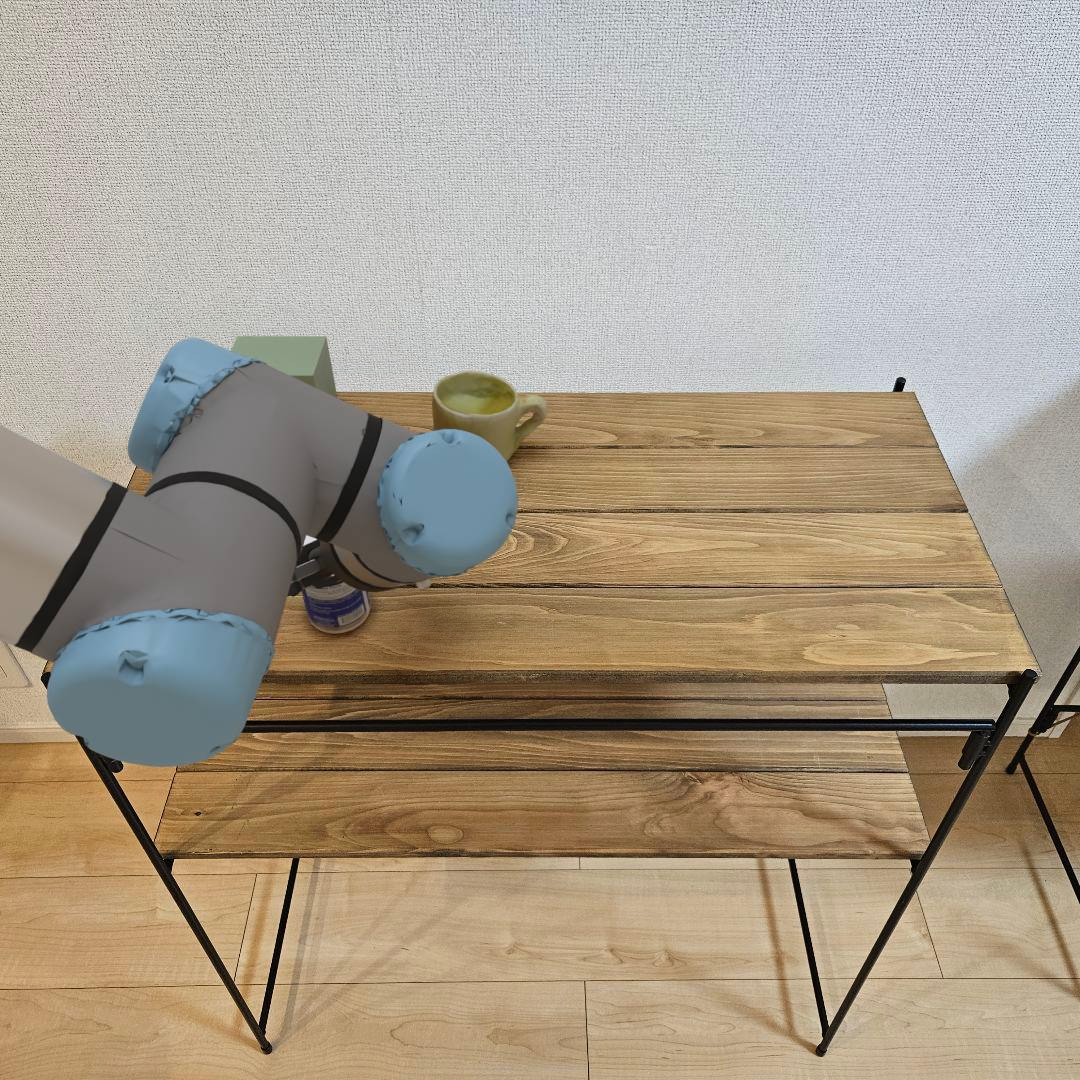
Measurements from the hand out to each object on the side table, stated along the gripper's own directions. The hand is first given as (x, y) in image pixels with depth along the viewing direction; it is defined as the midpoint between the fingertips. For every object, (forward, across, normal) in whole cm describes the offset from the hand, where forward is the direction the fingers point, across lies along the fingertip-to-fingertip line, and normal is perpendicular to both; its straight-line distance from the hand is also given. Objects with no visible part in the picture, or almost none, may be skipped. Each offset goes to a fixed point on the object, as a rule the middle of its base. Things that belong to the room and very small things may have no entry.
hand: (326, 562), depth 79 cm
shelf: (+24, +8, +17) cm, 31 cm away
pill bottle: (+3, 0, -5) cm, 6 cm away
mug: (+12, +24, +4) cm, 27 cm away
